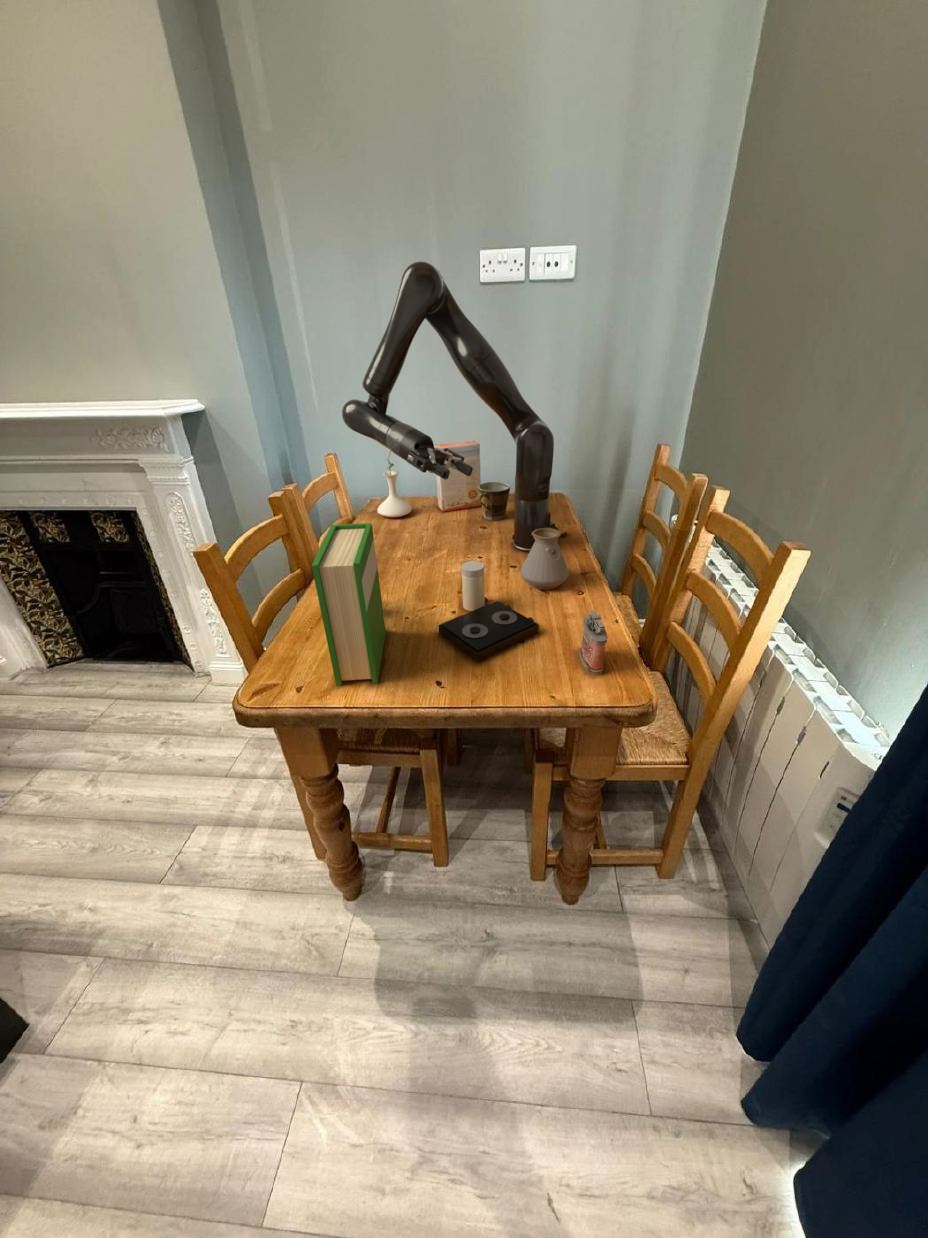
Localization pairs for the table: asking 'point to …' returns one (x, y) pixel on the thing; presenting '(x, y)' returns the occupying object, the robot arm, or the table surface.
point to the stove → (488, 630)
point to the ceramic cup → (494, 499)
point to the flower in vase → (393, 497)
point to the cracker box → (460, 479)
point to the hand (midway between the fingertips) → (459, 473)
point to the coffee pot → (545, 561)
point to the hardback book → (351, 601)
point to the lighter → (593, 643)
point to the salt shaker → (473, 585)
